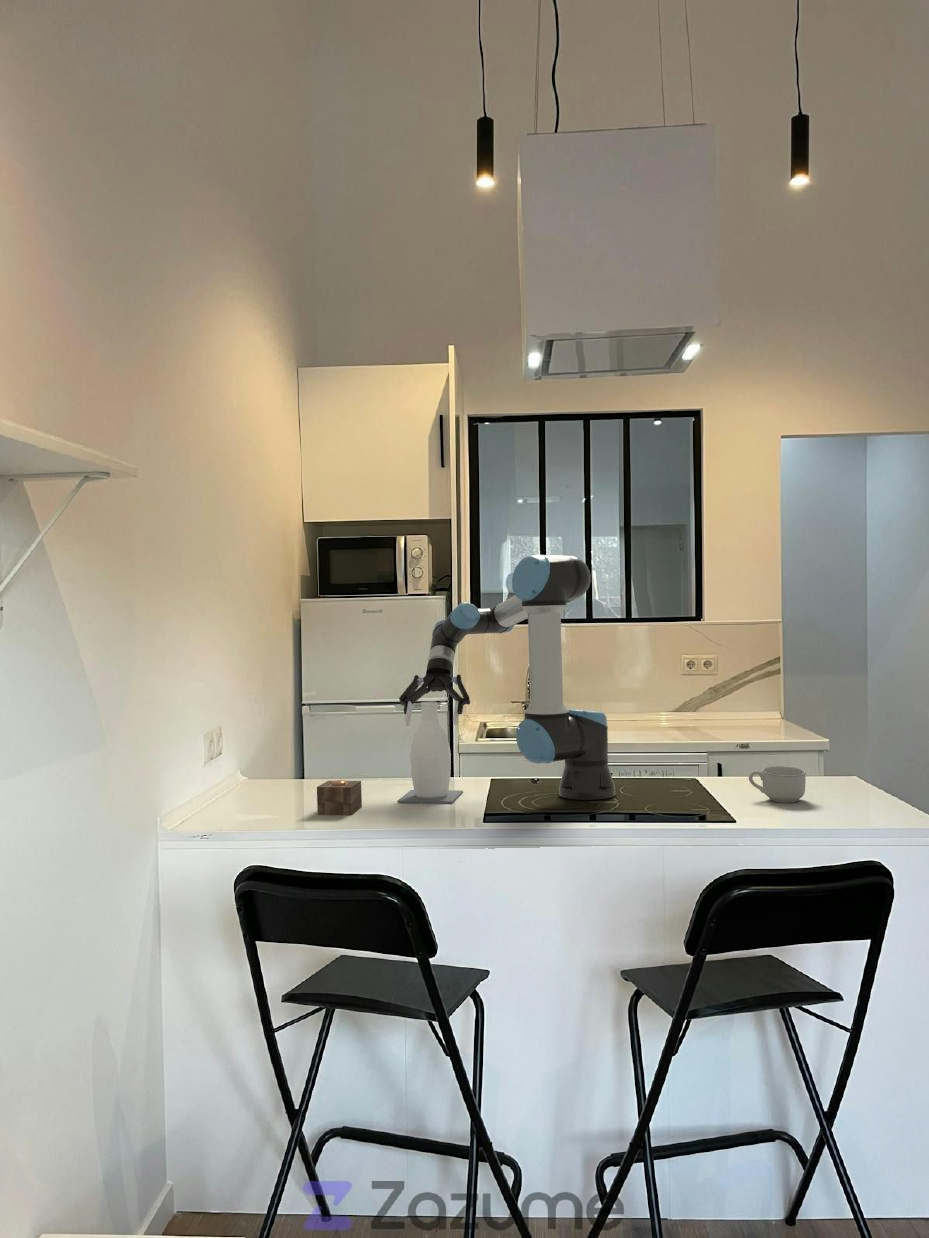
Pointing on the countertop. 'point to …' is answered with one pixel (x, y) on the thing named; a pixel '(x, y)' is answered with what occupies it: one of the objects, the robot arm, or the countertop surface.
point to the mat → (448, 799)
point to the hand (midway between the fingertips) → (431, 722)
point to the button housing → (339, 798)
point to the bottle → (430, 756)
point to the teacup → (781, 783)
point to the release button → (339, 783)
